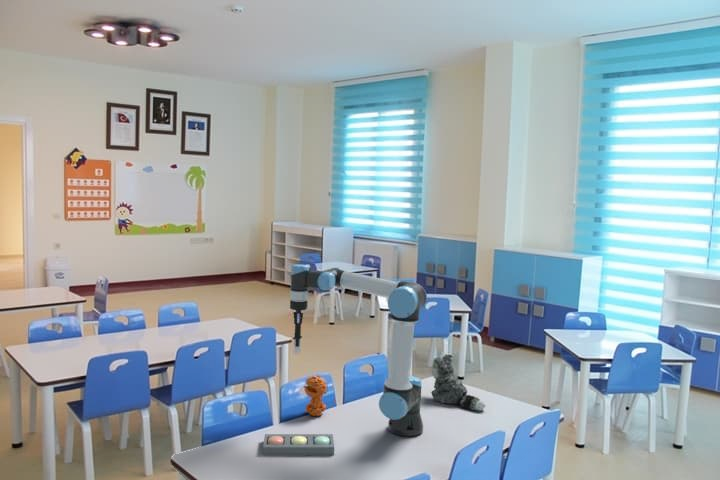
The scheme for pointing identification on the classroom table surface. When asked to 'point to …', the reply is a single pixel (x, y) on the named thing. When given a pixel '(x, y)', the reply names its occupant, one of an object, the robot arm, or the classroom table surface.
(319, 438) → the green button
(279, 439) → the coral button
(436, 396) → the raccoon plush
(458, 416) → the classroom table surface
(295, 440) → the yellow button
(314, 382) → the toy dinosaur
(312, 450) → the button panel
